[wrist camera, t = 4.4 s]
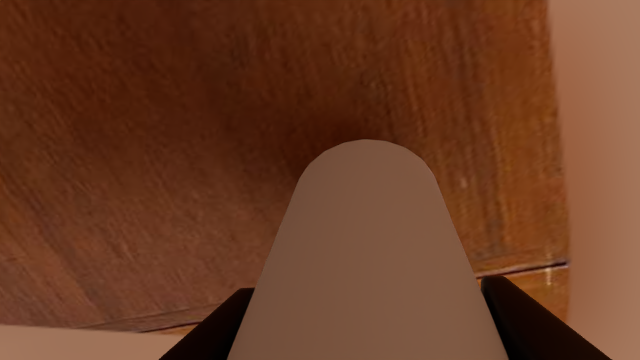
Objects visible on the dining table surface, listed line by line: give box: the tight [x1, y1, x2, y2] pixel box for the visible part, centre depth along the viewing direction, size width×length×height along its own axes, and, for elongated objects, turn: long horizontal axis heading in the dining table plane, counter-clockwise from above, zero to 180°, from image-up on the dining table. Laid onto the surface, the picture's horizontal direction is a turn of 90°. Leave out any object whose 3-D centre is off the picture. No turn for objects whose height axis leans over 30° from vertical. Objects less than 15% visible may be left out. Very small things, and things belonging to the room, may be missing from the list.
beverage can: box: [227, 139, 509, 360], centre depth 7 cm, size 5×5×12 cm
